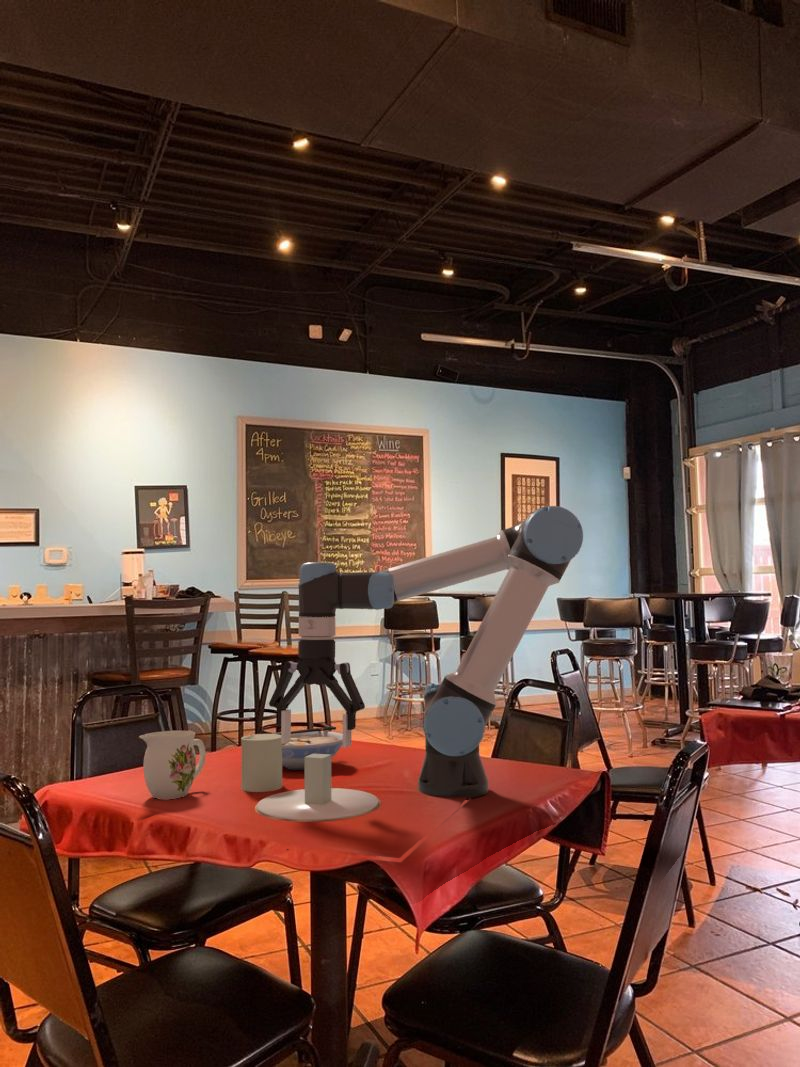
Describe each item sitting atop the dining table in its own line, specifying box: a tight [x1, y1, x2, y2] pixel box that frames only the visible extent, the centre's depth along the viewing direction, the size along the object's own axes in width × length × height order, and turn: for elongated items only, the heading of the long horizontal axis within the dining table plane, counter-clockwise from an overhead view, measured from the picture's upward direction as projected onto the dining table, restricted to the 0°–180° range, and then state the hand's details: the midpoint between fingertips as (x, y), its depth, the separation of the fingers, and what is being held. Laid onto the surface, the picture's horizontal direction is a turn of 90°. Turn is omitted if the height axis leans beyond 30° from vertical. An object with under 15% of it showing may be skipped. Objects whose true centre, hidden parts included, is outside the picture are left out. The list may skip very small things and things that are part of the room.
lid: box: [256, 754, 379, 822], centre depth 161 cm, size 24×24×10 cm
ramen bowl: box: [272, 725, 343, 771], centre depth 202 cm, size 25×23×8 cm
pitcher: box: [138, 730, 207, 800], centre depth 174 cm, size 11×18×14 cm, turn 148°
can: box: [240, 733, 283, 793], centre depth 178 cm, size 9×9×12 cm
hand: (315, 744), depth 162 cm, fingers open, 13 cm apart
